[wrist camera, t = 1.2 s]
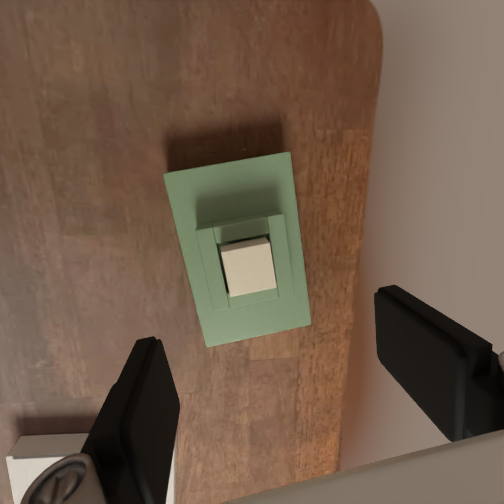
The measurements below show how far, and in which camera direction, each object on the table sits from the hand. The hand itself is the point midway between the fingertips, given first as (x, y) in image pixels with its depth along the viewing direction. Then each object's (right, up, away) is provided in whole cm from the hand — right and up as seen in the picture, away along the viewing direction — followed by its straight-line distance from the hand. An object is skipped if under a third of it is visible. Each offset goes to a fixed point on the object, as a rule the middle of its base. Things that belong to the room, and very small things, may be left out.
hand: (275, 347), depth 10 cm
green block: (-2, +4, +13) cm, 14 cm away
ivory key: (-1, +3, +10) cm, 10 cm away
